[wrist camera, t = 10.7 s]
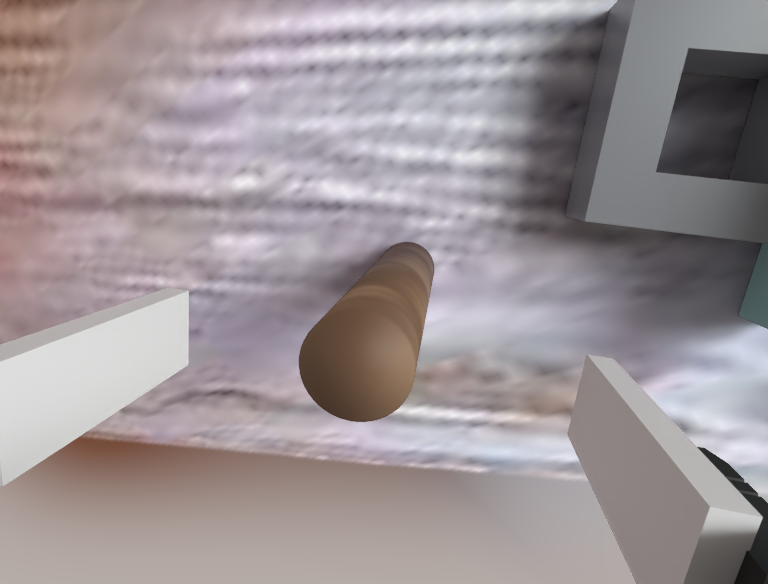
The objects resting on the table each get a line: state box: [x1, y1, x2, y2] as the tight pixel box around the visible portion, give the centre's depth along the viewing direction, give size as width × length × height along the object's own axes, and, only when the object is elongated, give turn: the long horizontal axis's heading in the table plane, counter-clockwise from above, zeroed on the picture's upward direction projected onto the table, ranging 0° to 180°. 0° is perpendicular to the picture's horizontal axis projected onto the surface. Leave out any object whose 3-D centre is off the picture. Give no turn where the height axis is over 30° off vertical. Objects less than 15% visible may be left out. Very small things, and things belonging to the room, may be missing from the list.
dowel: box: [299, 242, 434, 422], centre depth 21 cm, size 4×4×16 cm
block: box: [565, 0, 768, 244], centre depth 22 cm, size 11×11×4 cm
